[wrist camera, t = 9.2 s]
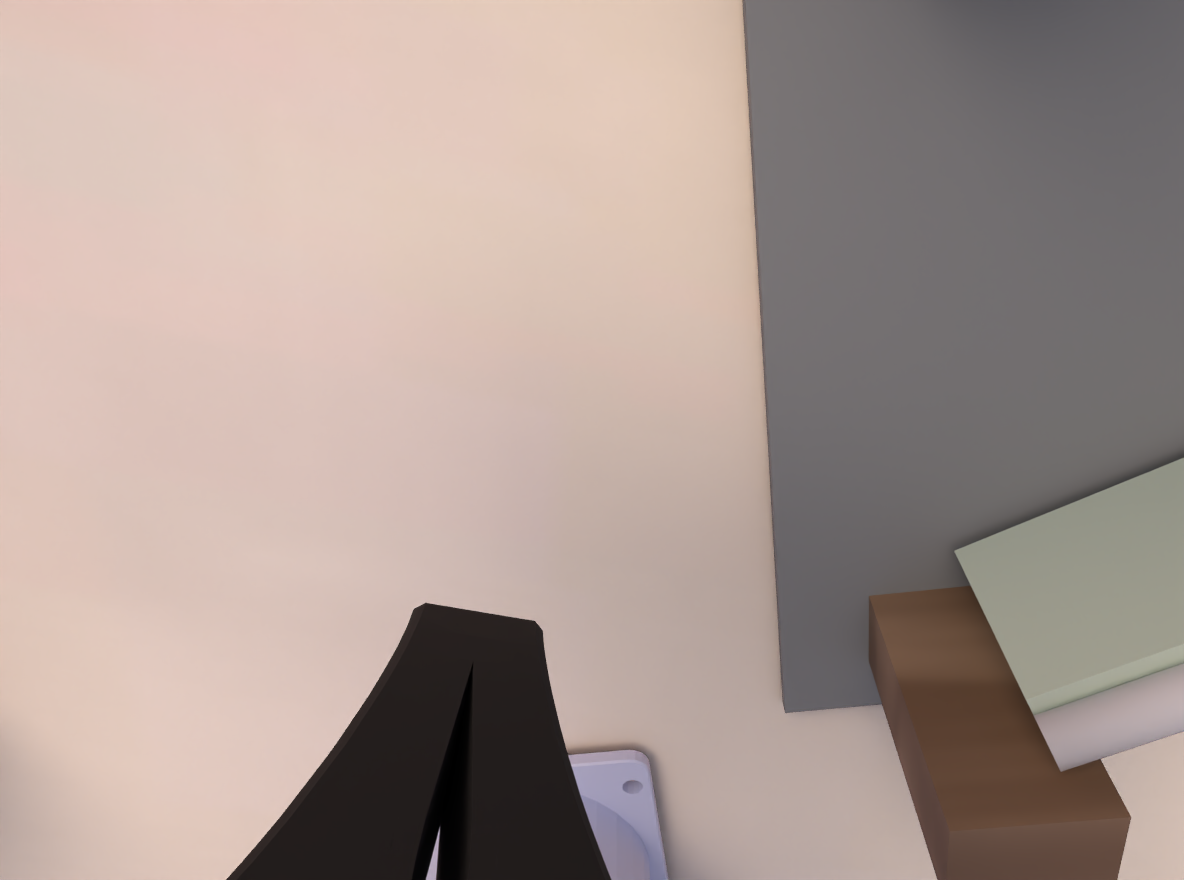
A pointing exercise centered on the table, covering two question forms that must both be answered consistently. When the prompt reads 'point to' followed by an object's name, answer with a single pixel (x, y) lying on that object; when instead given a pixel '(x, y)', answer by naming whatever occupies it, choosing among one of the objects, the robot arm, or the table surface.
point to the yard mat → (955, 287)
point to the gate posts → (984, 751)
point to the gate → (1093, 614)
